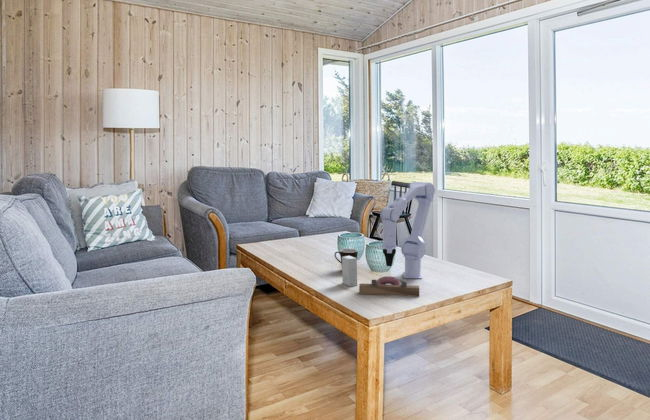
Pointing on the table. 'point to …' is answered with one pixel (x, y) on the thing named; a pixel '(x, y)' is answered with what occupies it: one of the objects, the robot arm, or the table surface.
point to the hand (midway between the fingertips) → (389, 265)
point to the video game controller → (388, 280)
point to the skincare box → (349, 270)
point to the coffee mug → (347, 253)
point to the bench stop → (389, 289)
